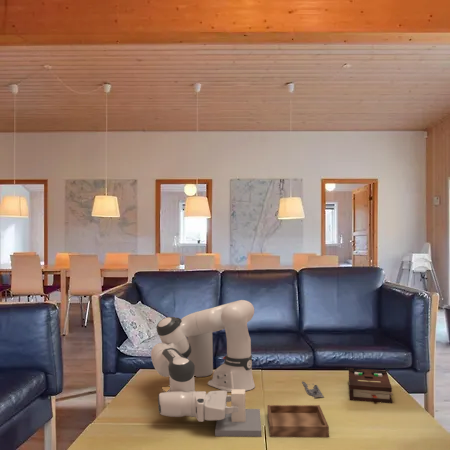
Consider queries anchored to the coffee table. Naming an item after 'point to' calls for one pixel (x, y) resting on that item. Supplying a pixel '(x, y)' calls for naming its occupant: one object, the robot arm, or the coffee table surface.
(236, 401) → the tall cream pillar block
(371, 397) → the decorative book
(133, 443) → the coffee table surface
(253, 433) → the board
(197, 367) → the cylinder vase
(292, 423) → the box
